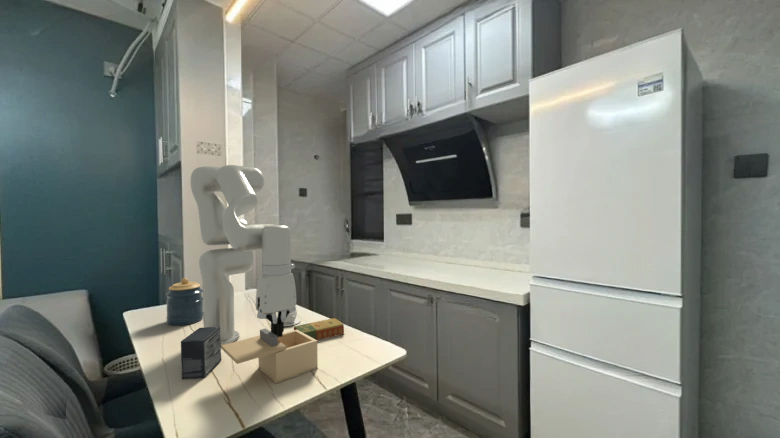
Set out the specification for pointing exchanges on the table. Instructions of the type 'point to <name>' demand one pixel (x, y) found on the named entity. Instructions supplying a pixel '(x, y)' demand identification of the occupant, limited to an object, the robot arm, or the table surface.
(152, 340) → the table surface
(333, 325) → the carton
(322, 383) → the table surface
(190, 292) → the canister
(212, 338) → the small box
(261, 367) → the shipping box
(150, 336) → the table surface
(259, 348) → the box lid
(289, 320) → the teacup
